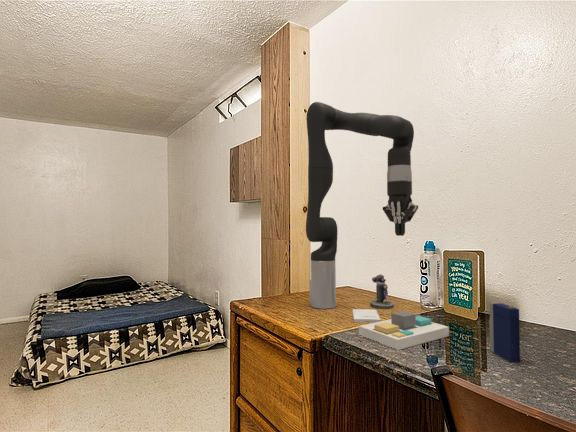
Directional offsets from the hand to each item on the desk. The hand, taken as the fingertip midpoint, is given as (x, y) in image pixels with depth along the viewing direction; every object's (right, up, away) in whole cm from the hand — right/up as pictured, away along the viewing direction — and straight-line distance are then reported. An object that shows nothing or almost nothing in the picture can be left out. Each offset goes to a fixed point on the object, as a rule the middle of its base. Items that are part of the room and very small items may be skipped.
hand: (400, 235), depth 114 cm
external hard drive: (-10, -28, +5) cm, 30 cm away
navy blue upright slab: (+15, -27, -30) cm, 43 cm away
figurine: (-1, -28, +20) cm, 34 cm away
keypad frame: (-4, -27, -14) cm, 31 cm away
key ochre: (-9, -26, -18) cm, 33 cm away
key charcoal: (-4, -24, -14) cm, 28 cm away
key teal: (+2, -26, -11) cm, 28 cm away
